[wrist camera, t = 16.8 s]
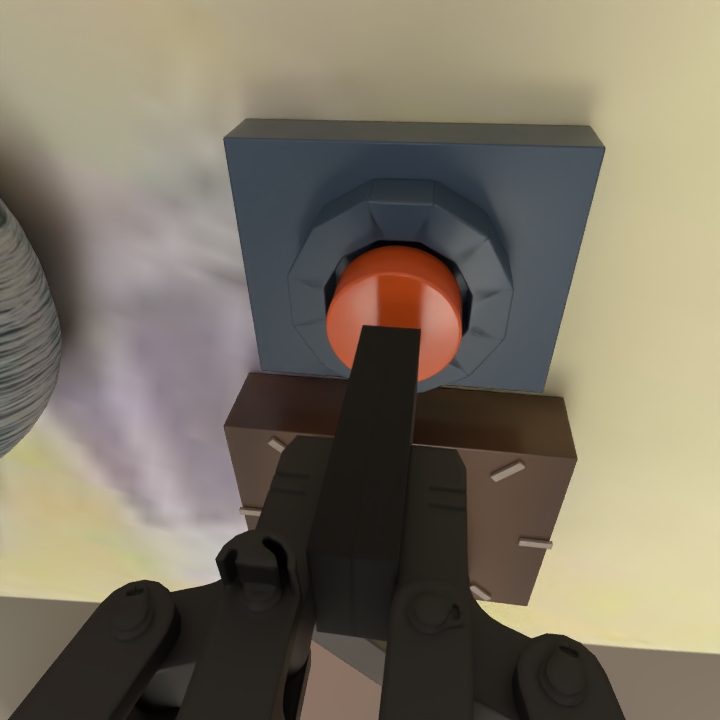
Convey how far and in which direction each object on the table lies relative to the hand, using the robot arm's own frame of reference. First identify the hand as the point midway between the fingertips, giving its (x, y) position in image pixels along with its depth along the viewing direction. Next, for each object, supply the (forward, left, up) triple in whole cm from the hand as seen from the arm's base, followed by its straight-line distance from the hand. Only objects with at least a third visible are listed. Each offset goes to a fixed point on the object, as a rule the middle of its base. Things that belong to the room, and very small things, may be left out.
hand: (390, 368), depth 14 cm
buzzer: (0, 0, -7) cm, 7 cm away
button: (0, 0, -3) cm, 3 cm away
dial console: (0, -12, -7) cm, 14 cm away
